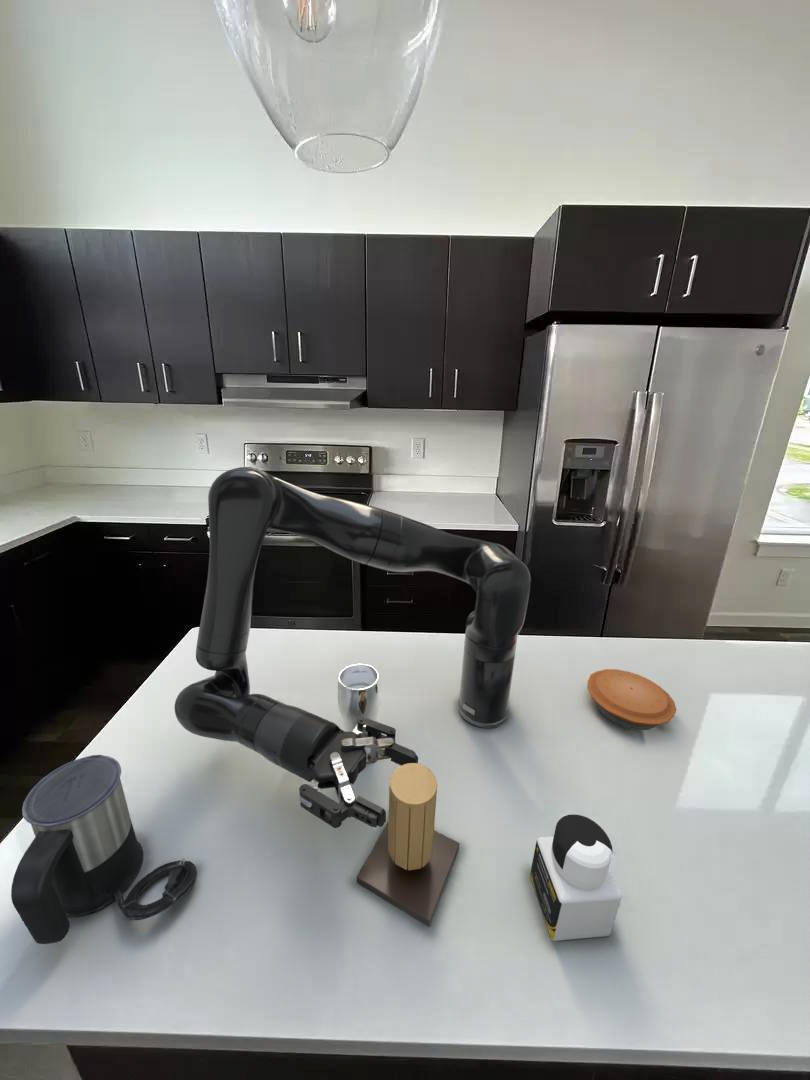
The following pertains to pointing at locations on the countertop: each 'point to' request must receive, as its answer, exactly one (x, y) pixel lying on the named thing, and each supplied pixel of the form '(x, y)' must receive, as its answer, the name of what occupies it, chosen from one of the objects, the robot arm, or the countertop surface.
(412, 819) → the grooved tan cylinder
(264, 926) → the countertop surface
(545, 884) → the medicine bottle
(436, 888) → the peg stand
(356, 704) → the chrome tumbler
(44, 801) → the milk frother
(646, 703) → the pie
